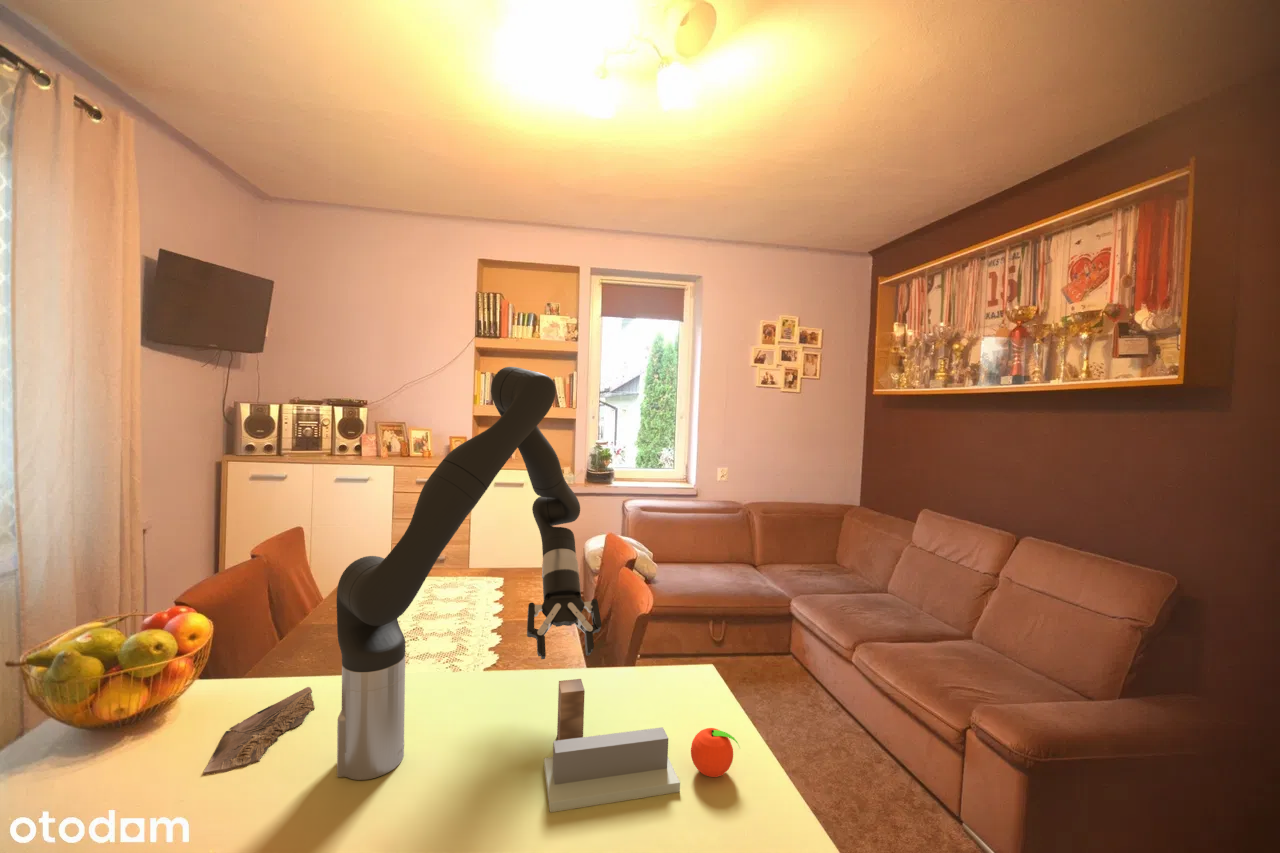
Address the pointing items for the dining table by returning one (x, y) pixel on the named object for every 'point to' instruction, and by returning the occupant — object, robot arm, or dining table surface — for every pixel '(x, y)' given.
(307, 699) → the wooden fragment
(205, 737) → the dining table surface
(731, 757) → the clementine
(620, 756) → the ridge stand
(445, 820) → the dining table surface
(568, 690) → the walnut post
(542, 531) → the robot arm
